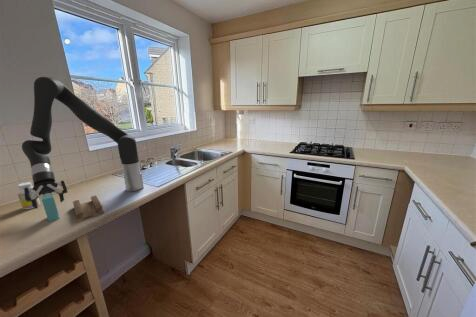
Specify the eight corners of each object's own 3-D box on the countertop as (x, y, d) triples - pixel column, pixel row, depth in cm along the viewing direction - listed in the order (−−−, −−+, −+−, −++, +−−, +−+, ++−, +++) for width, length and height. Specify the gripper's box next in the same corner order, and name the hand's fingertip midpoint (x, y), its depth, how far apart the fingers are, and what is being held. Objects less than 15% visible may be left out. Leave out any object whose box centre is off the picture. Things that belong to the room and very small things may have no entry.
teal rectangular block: (58, 214, 96) (52, 193, 93) (59, 218, 93) (52, 197, 90) (48, 217, 94) (42, 195, 91) (48, 221, 90) (41, 199, 87)
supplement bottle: (27, 204, 105) (20, 182, 102) (43, 202, 108) (36, 180, 104) (19, 211, 99) (11, 187, 96) (36, 208, 102) (29, 185, 98)
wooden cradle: (97, 201, 109) (96, 195, 108) (103, 213, 97) (102, 206, 96) (74, 207, 102) (72, 201, 101) (77, 221, 90) (76, 214, 89)
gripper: (19, 174, 89) (25, 207, 84) (61, 167, 98) (68, 196, 93) (24, 182, 94) (29, 213, 89) (63, 175, 104) (70, 202, 99)
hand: (49, 204), depth 91 cm, fingers open, 8 cm apart
